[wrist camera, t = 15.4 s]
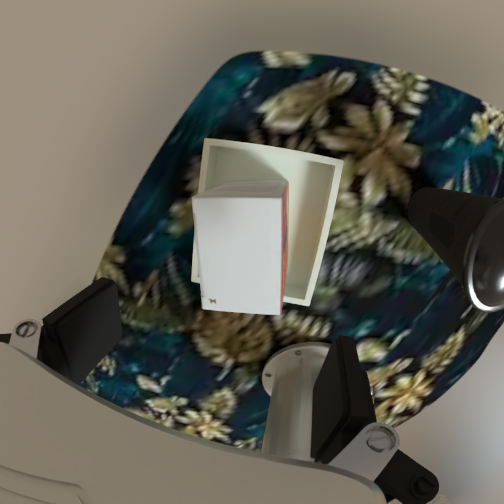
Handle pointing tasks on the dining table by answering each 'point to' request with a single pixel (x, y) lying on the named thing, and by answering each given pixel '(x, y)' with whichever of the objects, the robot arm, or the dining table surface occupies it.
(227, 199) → the small box
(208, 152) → the tray
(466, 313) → the dining table surface
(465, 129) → the dining table surface
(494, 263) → the drinking cup
